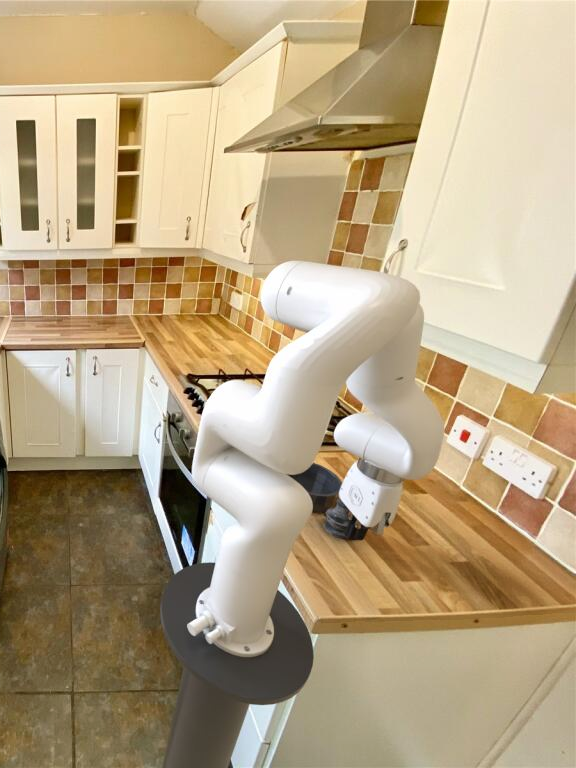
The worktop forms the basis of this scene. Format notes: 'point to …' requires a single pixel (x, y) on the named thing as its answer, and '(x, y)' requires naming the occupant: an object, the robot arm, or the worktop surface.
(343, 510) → the dark grey chess piece
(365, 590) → the worktop surface
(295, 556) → the worktop surface
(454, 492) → the worktop surface
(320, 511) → the dark grey bowl
